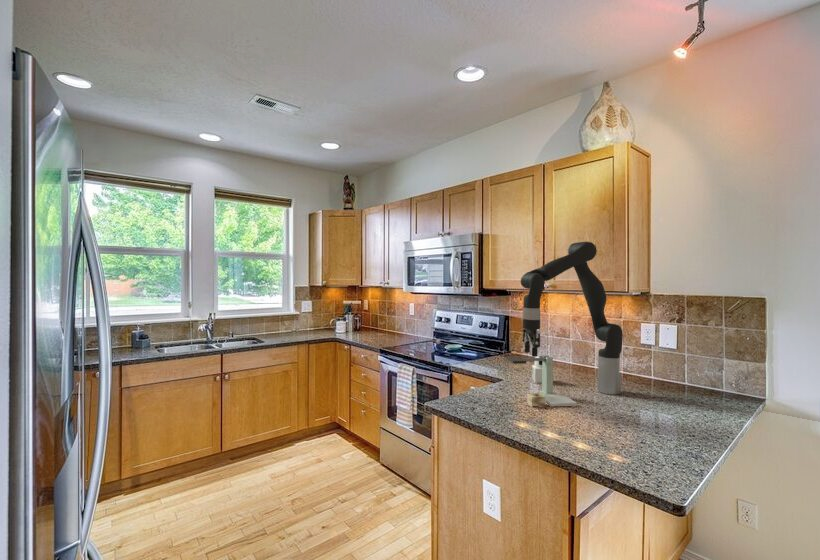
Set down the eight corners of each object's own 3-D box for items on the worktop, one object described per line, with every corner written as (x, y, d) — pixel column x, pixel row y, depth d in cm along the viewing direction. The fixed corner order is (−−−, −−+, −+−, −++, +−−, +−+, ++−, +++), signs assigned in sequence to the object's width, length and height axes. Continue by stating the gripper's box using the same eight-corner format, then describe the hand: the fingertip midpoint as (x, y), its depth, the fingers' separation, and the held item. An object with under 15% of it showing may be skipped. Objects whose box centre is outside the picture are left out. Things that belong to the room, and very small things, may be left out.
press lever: (545, 359, 186) (545, 354, 186) (555, 364, 176) (555, 359, 176) (505, 359, 184) (505, 354, 184) (513, 365, 174) (513, 359, 174)
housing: (540, 403, 171) (540, 391, 171) (545, 407, 166) (545, 395, 166) (526, 403, 170) (527, 392, 170) (531, 407, 165) (531, 395, 165)
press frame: (556, 392, 185) (557, 355, 185) (576, 406, 167) (577, 364, 166) (532, 393, 184) (532, 355, 184) (550, 407, 166) (550, 364, 165)
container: (546, 379, 208) (546, 355, 208) (550, 383, 200) (550, 358, 200) (531, 379, 209) (532, 355, 209) (534, 383, 201) (535, 358, 201)
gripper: (546, 320, 165) (545, 358, 165) (533, 316, 179) (532, 351, 179) (529, 320, 164) (528, 358, 165) (517, 316, 178) (516, 351, 179)
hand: (530, 354), depth 172 cm, fingers open, 8 cm apart
